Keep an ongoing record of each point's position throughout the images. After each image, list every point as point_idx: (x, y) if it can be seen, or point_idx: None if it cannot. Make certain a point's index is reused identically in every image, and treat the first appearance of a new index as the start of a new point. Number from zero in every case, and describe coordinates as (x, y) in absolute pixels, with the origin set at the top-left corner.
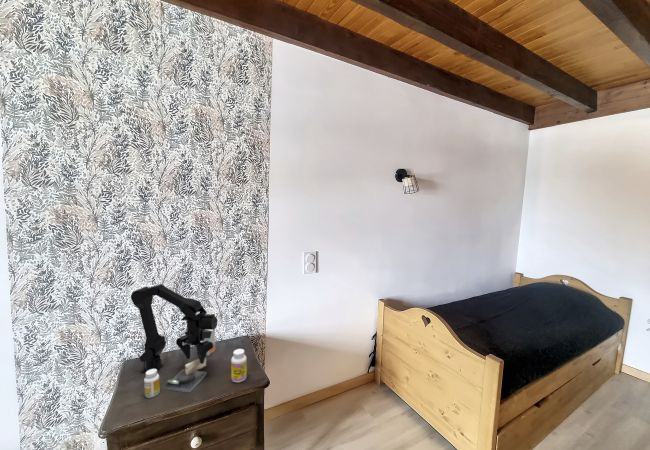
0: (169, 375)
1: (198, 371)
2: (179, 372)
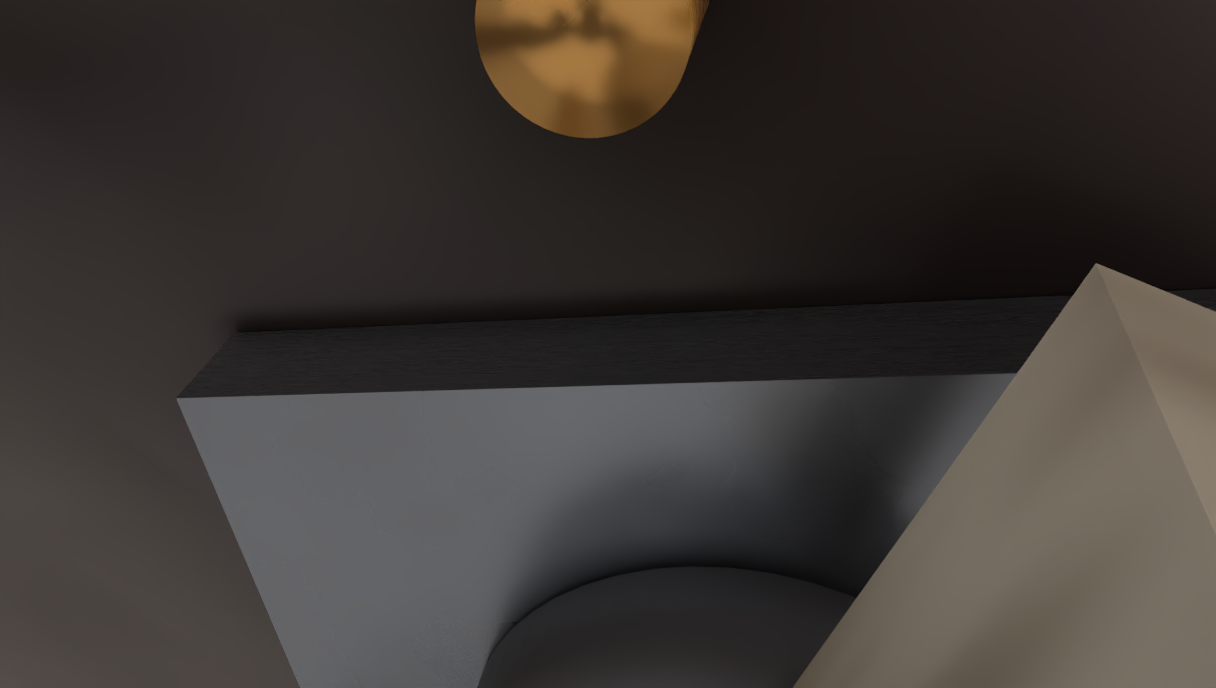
0: (28, 509)
1: (884, 398)
2: (243, 553)
